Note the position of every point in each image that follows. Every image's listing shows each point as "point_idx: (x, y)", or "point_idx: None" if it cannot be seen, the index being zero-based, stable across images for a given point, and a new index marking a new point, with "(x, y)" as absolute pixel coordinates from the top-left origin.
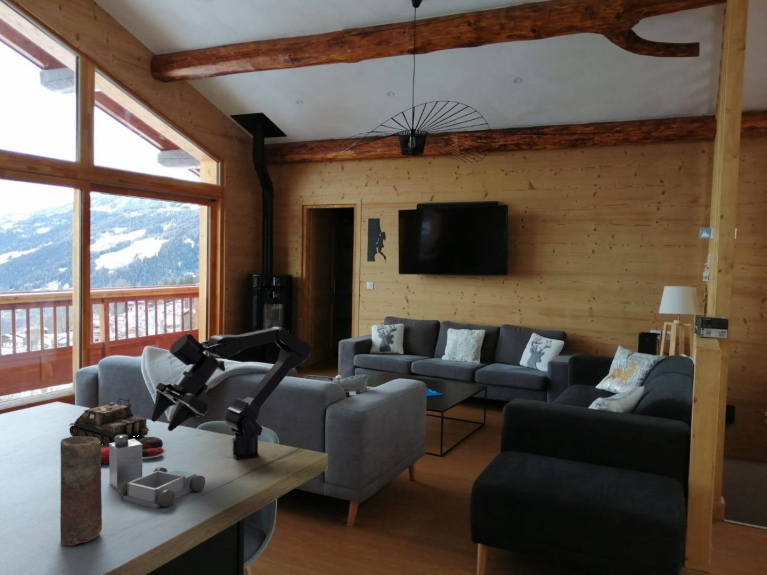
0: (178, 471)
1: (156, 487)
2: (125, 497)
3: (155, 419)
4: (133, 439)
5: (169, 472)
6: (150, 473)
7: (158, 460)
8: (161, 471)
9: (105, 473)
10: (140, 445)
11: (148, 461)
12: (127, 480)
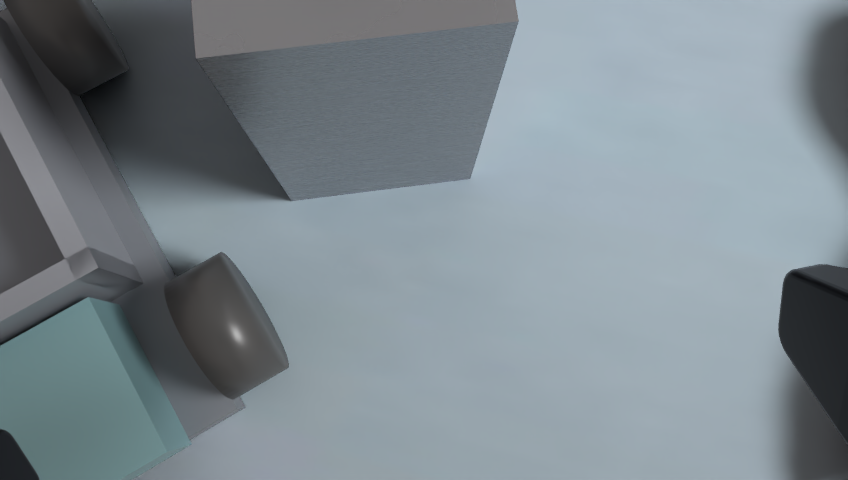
0: (74, 471)
1: (36, 247)
2: (5, 13)
3: (807, 360)
4: (485, 5)
5: (100, 384)
6: (56, 189)
7: (813, 460)
8: (43, 292)
9: (680, 14)
10: (198, 42)
11: None
12: (65, 1)
